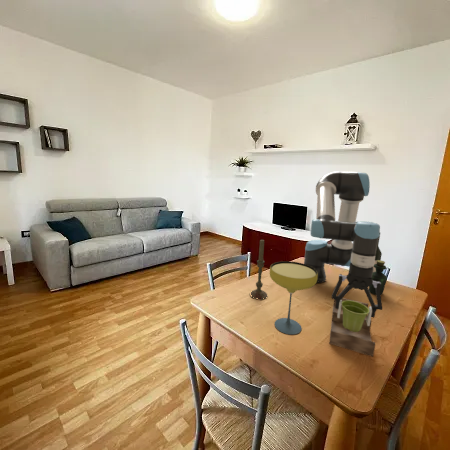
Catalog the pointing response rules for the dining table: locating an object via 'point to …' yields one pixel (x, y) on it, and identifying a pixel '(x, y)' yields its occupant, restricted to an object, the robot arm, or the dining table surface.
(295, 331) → the cocktail glass
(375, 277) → the potion bottle
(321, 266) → the robot arm
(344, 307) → the plant pot
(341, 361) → the dining table surface
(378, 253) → the wine bottle
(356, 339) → the rack
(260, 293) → the candlestick holder
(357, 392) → the dining table surface
